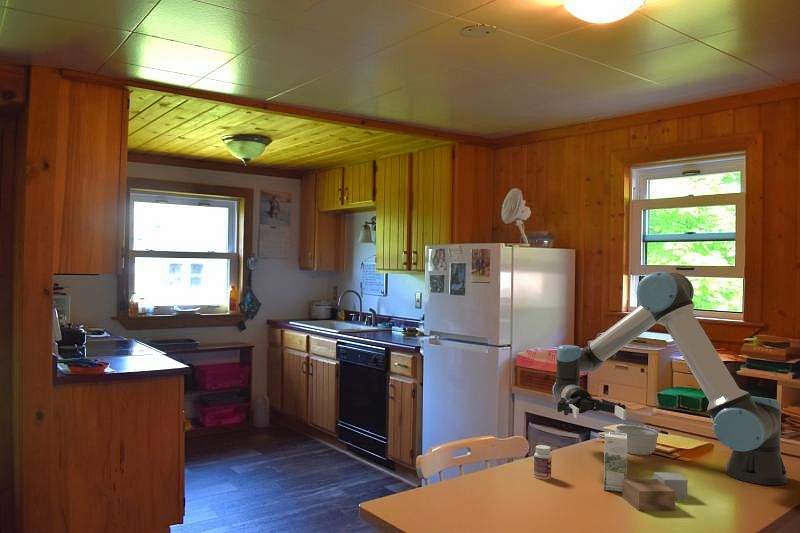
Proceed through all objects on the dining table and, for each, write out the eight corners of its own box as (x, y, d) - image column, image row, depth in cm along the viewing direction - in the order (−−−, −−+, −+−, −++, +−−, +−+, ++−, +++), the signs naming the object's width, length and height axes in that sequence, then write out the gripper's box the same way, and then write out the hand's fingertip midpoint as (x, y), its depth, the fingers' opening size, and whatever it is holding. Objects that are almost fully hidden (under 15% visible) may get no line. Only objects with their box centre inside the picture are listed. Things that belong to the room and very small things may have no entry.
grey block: (675, 491, 165) (676, 472, 165) (687, 499, 159) (687, 480, 159) (653, 491, 165) (653, 472, 165) (664, 499, 159) (664, 479, 159)
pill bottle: (551, 480, 171) (552, 449, 171) (533, 478, 172) (534, 448, 172) (550, 475, 175) (551, 445, 176) (533, 473, 176) (534, 444, 176)
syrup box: (626, 486, 167) (627, 432, 167) (626, 494, 161) (627, 437, 162) (603, 484, 169) (604, 430, 169) (603, 490, 163) (604, 435, 164)
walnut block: (656, 498, 159) (656, 479, 159) (674, 512, 150) (675, 491, 150) (622, 498, 158) (622, 479, 159) (638, 512, 150) (639, 491, 150)
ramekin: (661, 450, 206) (661, 428, 206) (653, 459, 195) (654, 436, 195) (620, 443, 213) (620, 423, 213) (610, 451, 202) (610, 430, 202)
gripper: (615, 412, 197) (644, 429, 176) (537, 409, 196) (557, 426, 175) (616, 388, 197) (645, 402, 176) (538, 385, 196) (558, 399, 175)
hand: (601, 414), depth 176 cm, fingers open, 13 cm apart
